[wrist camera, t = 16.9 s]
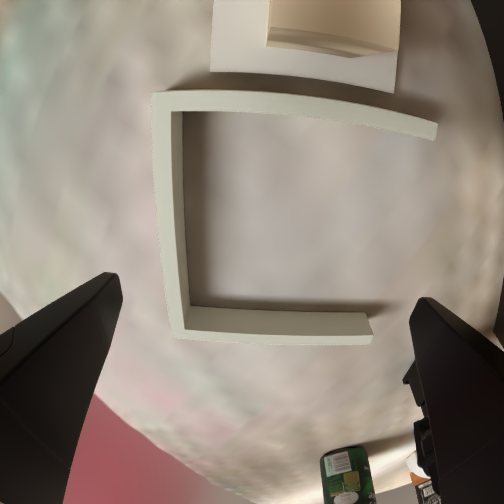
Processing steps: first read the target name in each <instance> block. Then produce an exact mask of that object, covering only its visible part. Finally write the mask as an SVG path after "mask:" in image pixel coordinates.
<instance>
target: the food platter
mask: <svg viewBox="0 0 504 504" xmlns="http://www.w3.org/2000/svg"><path fill="white" fill-rule="evenodd" d="M471 2H472V5H473V7H474V10H475V12H476V15H477V17H478V20H479V23H480V26H481V29H482V32H483V35H484V38H485V41H486V44H487V47H488V51H489V54H490V58H491V61H492V65H493V69H494V73H495V77H496V82H497V86H498V91H499V96H500V102H501V107H502V113H503V120H504V0H471ZM493 332H494V334H495V335H496V337H497V338H498V340H499V342H500V343H501V345H502V347H503V348H504V278H503V285H502V291H501V297H500V303H499V308H498V313H497V318H496V322H495V327H494V331H493Z"/></svg>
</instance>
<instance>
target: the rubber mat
mask: <svg viewBox="0 0 504 504" xmlns="http://www.w3.org/2000/svg"><path fill="white" fill-rule="evenodd" d="M268 1H269V0H214V8H213V22H212V37H211V55H210V72H239V73H260V74H274V75H285V76H295V77H304V78H311V79H319V80H326V81H332V82H338V83H344V84H349V85H355V86H360V87H365V88H370V89H374V90H379V91H383V92H387V93H392V94H394V87H395V78H396V67H397V56H398V51H391V52H384V53H378V54H372V55H366V56H361V57H356V58H346V57H341V56H335V55H329V54H323V53H317V52H310V51H302V50H294V49H284V48H273V47H265V45H266V30H267V16H268Z"/></svg>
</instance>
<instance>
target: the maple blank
mask: <svg viewBox="0 0 504 504" xmlns="http://www.w3.org/2000/svg"><path fill="white" fill-rule="evenodd" d="M400 12H401V0H269V1H268V16H267V30H266V45H265V47H273V48H284V49H294V50H302V51H310V52H317V53H323V54H329V55H335V56H341V57H346V58H356V57H361V56H366V55H372V54H378V53H384V52H391V51H398V50H399V35H400Z"/></svg>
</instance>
